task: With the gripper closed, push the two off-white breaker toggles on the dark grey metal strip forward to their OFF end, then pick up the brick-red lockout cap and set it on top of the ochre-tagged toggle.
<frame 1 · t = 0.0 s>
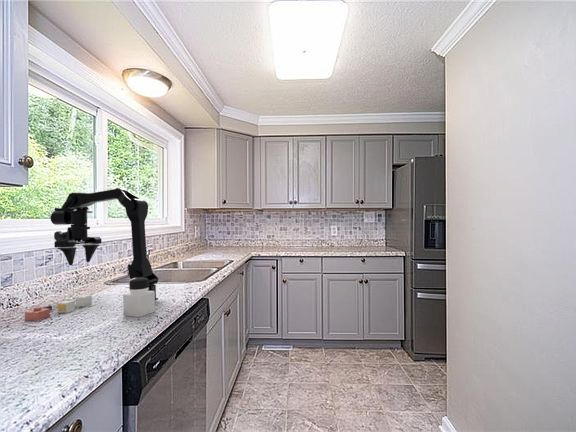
hand: (79, 263, 136), 15 cm above the worktop, tool pointing down, fingers open, 9 cm apart
medicine bottle: (139, 314, 115), on the worktop
lockout cap: (37, 323, 107), on the worktop
tagged toggle: (66, 306, 115), point 3 cm above the worktop, slide at 0.0 cm
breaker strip: (67, 311, 119), on the worktop
plain toggle: (83, 300, 123), point 3 cm above the worktop, slide at 0.0 cm
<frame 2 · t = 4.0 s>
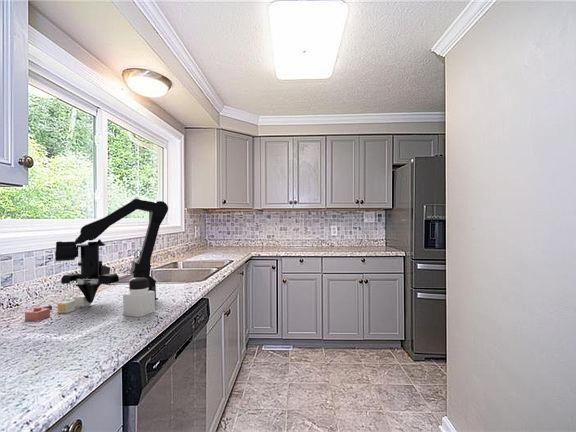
hand: (90, 302, 122), 2 cm above the worktop, tool pointing down, fingers closed
plain toggle: (82, 300, 123), point 3 cm above the worktop, slide at 0.5 cm, touching gripper
everything else where it was.
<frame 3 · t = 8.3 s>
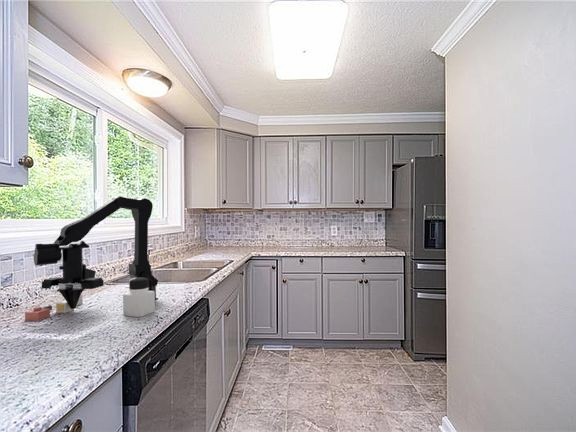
hand: (73, 308, 114), 2 cm above the worktop, tool pointing down, fingers closed
tagged toggle: (64, 306, 115), point 3 cm above the worktop, slide at 0.5 cm, touching gripper
plain toggle: (74, 300, 123), point 3 cm above the worktop, slide at 3.7 cm
everything else where it was.
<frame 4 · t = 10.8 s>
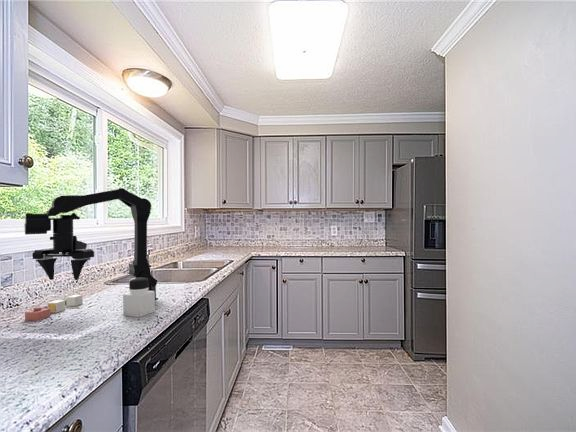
hand: (64, 279, 115), 12 cm above the worktop, tool pointing down, fingers open, 9 cm apart
tagged toggle: (56, 306, 115), point 3 cm above the worktop, slide at 3.7 cm
everything else where it was.
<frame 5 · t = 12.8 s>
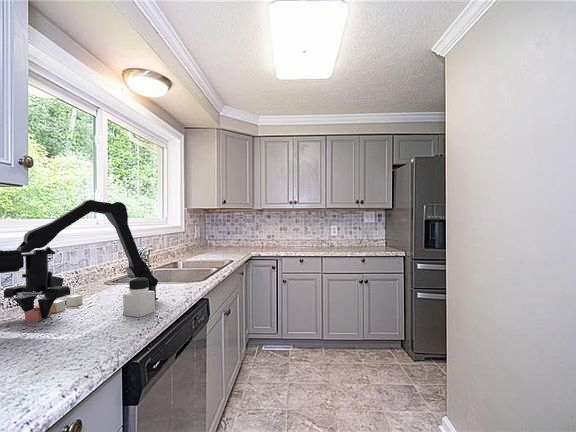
hand: (37, 319, 107), 1 cm above the worktop, tool pointing down, fingers closed on lockout cap, 4 cm apart
lockout cap: (37, 322, 107), on the worktop, touching gripper
everything else where it was.
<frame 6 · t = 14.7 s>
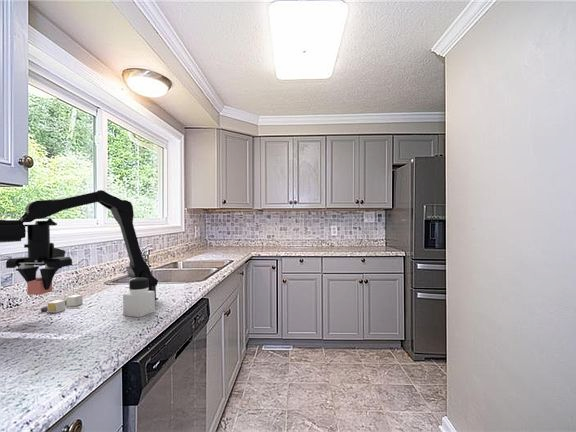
hand: (40, 289, 108), 10 cm above the worktop, tool pointing down, fingers closed on lockout cap, 4 cm apart
lockout cap: (40, 292, 108), point 9 cm above the worktop, touching gripper
everything else where it was.
when the fingers open (6 cm above the worktop, at t = 16.8 s): lockout cap stays where it is, resting on tagged toggle.
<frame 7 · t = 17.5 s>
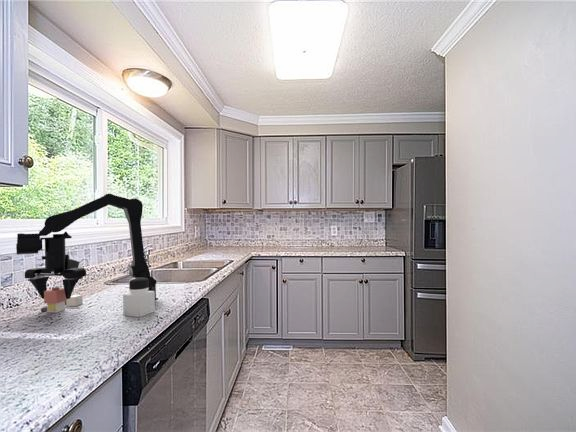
hand: (56, 298, 115), 6 cm above the worktop, tool pointing down, fingers open, 9 cm apart
lockout cap: (55, 301, 115), point 5 cm above the worktop, touching tagged toggle
tagged toggle: (55, 306, 115), point 3 cm above the worktop, slide at 3.8 cm, touching lockout cap
everything else where it was.
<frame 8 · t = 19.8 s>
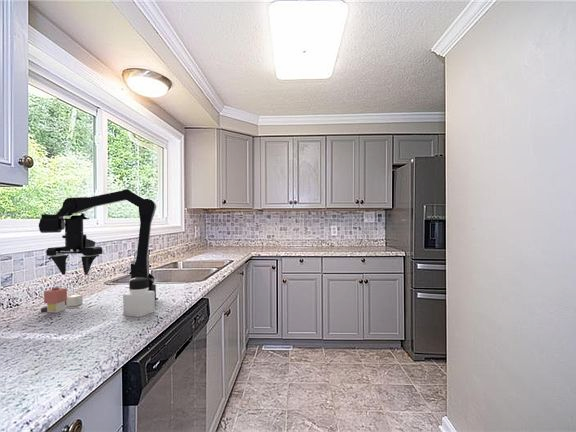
hand: (75, 274, 125), 12 cm above the worktop, tool pointing down, fingers open, 9 cm apart
nothing on the worktop moved.
at the end: plain toggle slide at 3.7 cm; tagged toggle slide at 3.8 cm; lockout cap 0.2 cm off-centre on the tagged toggle, point 3.2 cm above the tagged toggle's base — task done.
